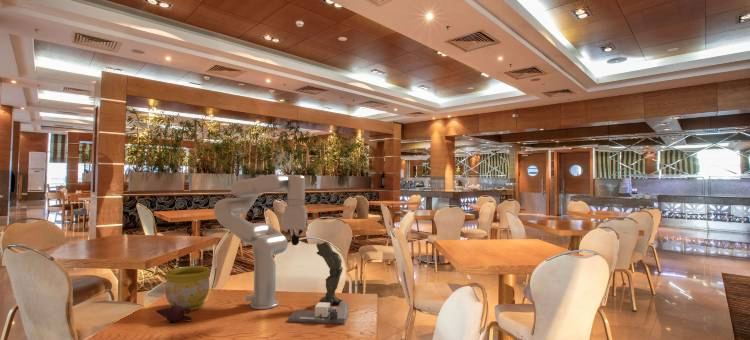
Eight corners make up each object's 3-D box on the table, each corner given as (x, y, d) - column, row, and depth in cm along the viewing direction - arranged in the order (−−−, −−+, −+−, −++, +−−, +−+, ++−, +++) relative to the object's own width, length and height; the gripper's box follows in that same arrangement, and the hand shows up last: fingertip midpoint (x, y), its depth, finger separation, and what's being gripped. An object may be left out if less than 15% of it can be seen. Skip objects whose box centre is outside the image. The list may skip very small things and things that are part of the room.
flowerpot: (216, 301, 182) (216, 266, 182) (197, 314, 164) (198, 275, 164) (178, 300, 182) (179, 265, 183) (155, 313, 164) (156, 275, 165)
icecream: (149, 308, 152) (186, 313, 151) (161, 298, 159) (196, 302, 158) (150, 324, 154) (186, 328, 153) (162, 313, 161) (196, 317, 160)
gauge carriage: (313, 318, 155) (313, 308, 155) (318, 311, 163) (318, 302, 163) (333, 319, 155) (333, 309, 155) (337, 312, 162) (337, 302, 162)
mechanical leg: (351, 300, 182) (337, 237, 184) (349, 304, 175) (334, 240, 177) (323, 305, 184) (309, 244, 185) (320, 310, 177) (305, 246, 178)
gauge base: (288, 321, 156) (288, 305, 156) (295, 313, 166) (295, 298, 166) (344, 324, 154) (344, 307, 154) (348, 315, 164) (348, 300, 164)
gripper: (276, 203, 167) (275, 245, 167) (310, 203, 166) (309, 246, 165) (282, 202, 175) (281, 242, 174) (314, 202, 173) (314, 243, 173)
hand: (295, 244), depth 170 cm, fingers closed
